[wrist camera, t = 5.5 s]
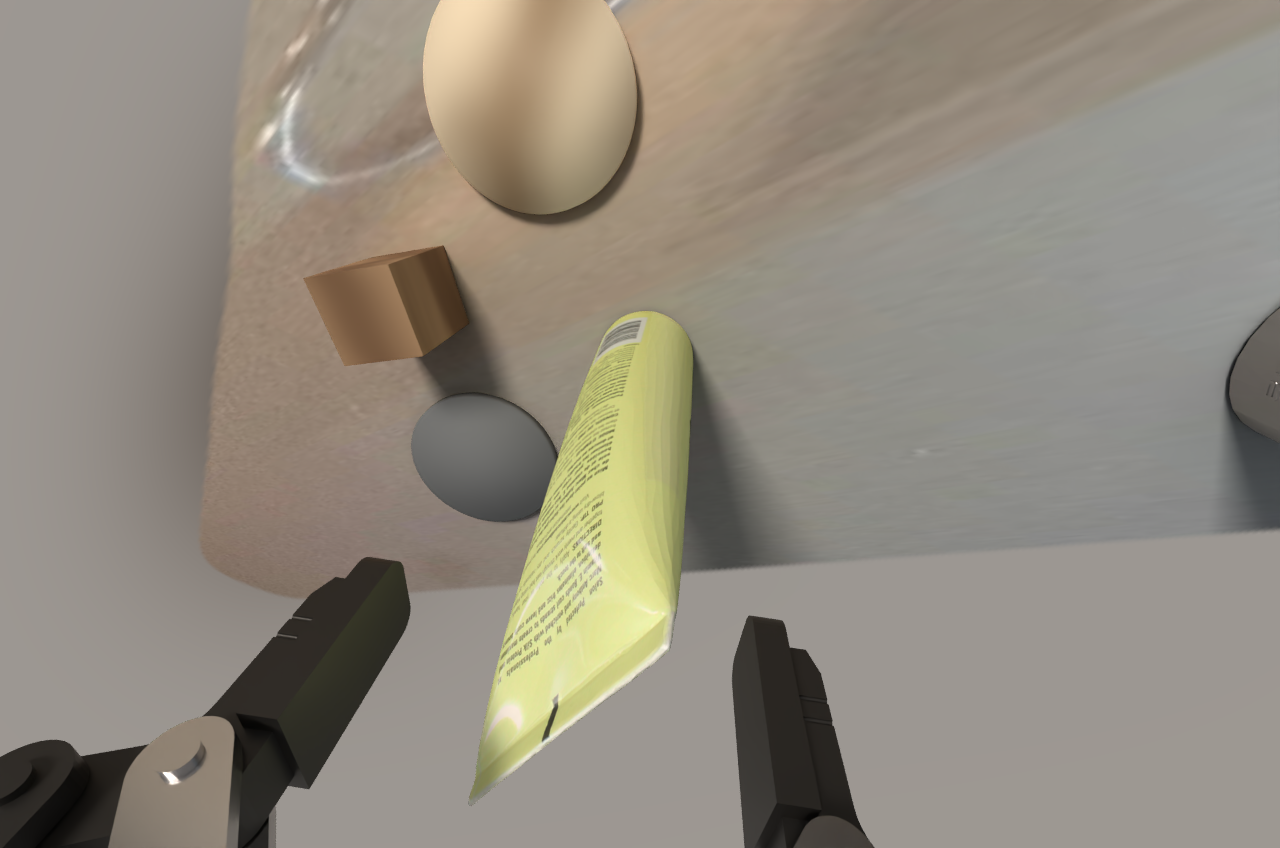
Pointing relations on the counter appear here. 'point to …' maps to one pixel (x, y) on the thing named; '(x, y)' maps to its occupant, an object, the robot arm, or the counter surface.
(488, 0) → the pad
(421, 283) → the walnut block
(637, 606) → the tube
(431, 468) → the pad
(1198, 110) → the counter surface
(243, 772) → the robot arm
